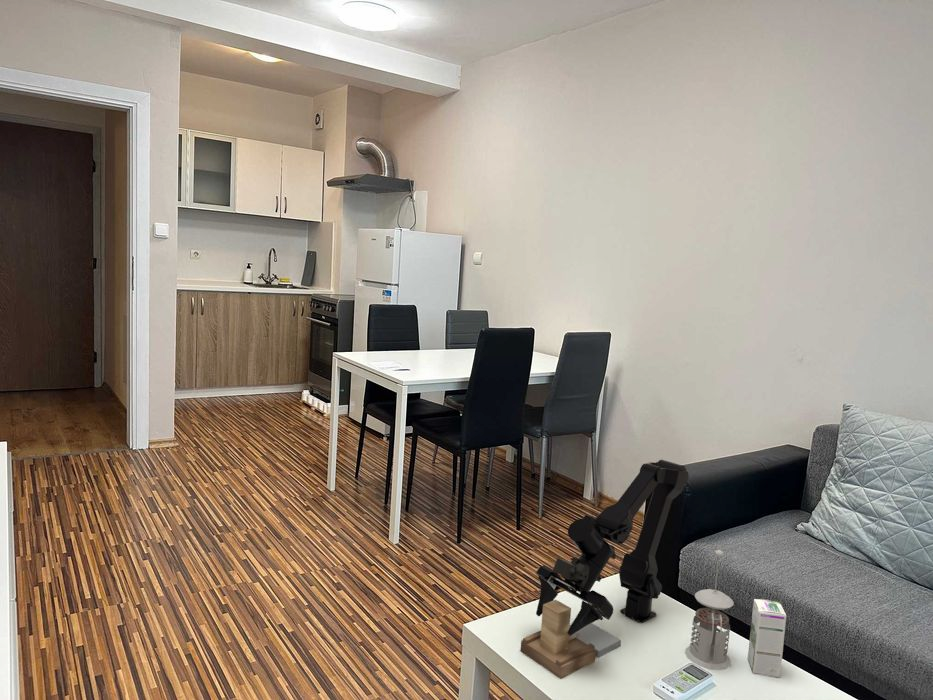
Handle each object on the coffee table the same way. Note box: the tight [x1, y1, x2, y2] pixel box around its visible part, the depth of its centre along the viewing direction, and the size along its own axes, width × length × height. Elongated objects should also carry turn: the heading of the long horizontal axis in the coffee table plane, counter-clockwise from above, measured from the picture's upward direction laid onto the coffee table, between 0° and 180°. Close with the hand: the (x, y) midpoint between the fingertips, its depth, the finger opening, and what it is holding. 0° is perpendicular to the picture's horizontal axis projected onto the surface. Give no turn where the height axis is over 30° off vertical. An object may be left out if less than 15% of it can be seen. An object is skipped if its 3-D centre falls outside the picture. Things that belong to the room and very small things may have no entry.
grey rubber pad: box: [570, 623, 622, 658], centre depth 154 cm, size 8×11×2 cm
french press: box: [684, 549, 735, 671], centre depth 148 cm, size 10×12×25 cm
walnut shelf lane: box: [520, 630, 597, 679], centre depth 147 cm, size 11×12×3 cm
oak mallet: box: [540, 599, 580, 655], centre depth 147 cm, size 10×4×10 cm, turn 130°
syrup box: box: [747, 598, 787, 678], centre depth 146 cm, size 6×6×14 cm
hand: (552, 624), depth 144 cm, fingers open, 9 cm apart
